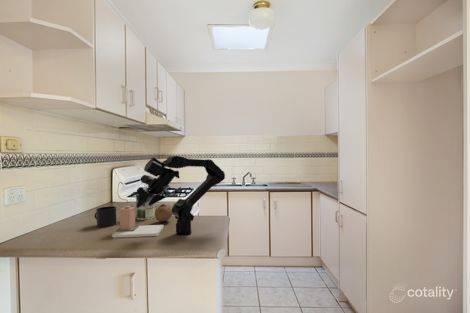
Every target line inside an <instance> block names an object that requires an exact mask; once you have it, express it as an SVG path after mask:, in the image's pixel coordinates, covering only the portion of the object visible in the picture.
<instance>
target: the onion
mask: <svg viewBox="0 0 470 313" xmlns="http://www.w3.org/2000/svg"><path fill="white" fill-rule="evenodd" d="M154 216H155V217H154V218H155V220H156V221H157V222H161V223H162V222H163V223H165V222H168V221H169V220H170V219H171V218H172V216H173V214H172V207H170V206H168V205H166V204H164V203H163V204H160V205H159V206H158V207H157V208H156V209H154Z"/></svg>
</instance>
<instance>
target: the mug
mask: <svg viewBox="0 0 470 313" xmlns="http://www.w3.org/2000/svg"><path fill="white" fill-rule="evenodd" d="M94 219H95V220H96V226H97V227H98V228H108V227H113V226H115V225H117V222H118V221H117V207H116V206H115V205H114V206H111V205H110V206H102V207H98V208H96V212H95V213H94Z"/></svg>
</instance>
